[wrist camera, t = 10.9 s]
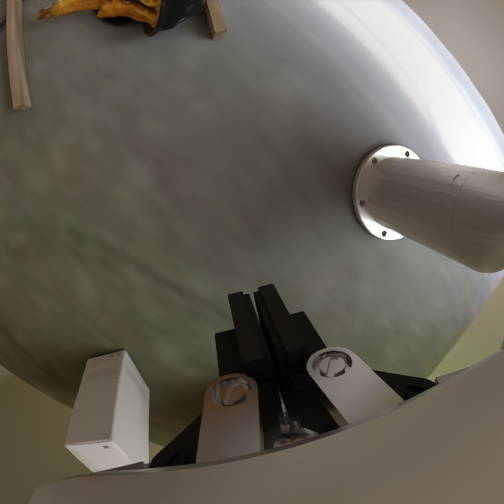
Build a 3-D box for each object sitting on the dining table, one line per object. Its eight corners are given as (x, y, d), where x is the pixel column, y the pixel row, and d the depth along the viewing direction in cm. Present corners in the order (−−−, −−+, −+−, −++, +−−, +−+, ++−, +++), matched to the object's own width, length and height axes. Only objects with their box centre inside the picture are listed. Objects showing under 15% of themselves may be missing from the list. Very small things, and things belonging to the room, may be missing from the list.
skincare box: (87, 357, 36) (59, 443, 22) (128, 347, 37) (111, 438, 22) (115, 399, 39) (101, 483, 25) (153, 391, 40) (150, 480, 25)
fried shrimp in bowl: (218, 33, 24) (24, 62, 16) (181, 35, 31) (38, 59, 23) (224, -48, 18) (26, -32, 10) (184, -28, 25) (37, -10, 17)
